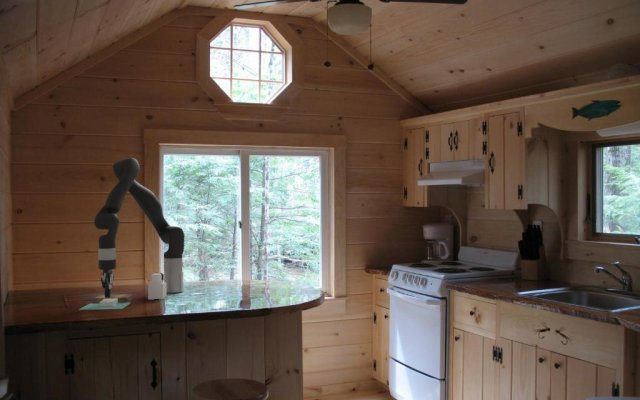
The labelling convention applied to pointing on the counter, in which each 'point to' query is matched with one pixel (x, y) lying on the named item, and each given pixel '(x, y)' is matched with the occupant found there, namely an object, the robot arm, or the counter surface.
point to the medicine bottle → (157, 287)
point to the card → (109, 302)
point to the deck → (121, 298)
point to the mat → (97, 306)
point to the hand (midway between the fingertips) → (107, 297)
